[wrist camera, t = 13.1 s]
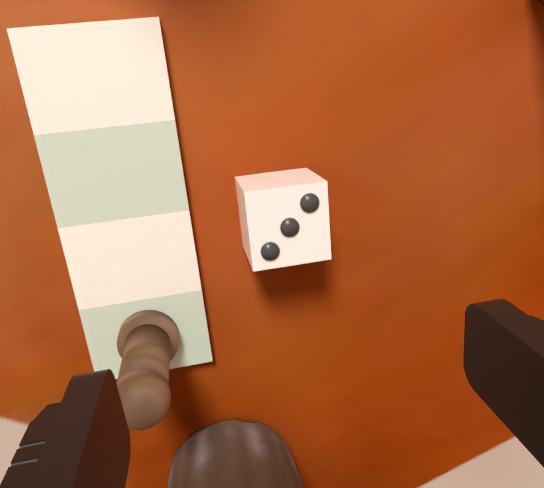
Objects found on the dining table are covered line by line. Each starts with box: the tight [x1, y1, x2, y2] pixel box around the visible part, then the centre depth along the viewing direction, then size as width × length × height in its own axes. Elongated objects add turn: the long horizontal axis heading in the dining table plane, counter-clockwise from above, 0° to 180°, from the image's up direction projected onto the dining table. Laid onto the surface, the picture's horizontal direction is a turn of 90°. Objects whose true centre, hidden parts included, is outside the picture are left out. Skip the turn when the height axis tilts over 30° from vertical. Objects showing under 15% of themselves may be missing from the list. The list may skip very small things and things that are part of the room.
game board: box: [7, 17, 213, 379], centre depth 37 cm, size 10×28×1 cm, turn 6°
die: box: [235, 168, 331, 272], centre depth 37 cm, size 6×6×6 cm
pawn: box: [117, 310, 179, 430], centre depth 35 cm, size 5×5×11 cm
